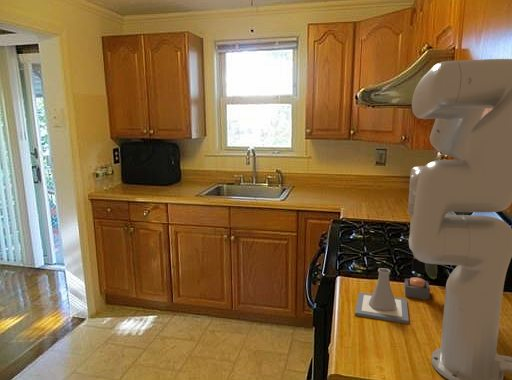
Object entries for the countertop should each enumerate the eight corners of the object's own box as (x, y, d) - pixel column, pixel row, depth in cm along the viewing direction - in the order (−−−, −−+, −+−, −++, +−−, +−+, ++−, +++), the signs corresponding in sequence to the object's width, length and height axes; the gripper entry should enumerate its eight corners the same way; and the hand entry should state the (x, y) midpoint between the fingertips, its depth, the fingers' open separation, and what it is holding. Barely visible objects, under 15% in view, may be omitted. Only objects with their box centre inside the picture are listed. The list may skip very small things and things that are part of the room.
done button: (423, 287, 111) (424, 278, 111) (424, 292, 108) (425, 283, 107) (409, 285, 113) (409, 276, 112) (409, 290, 109) (410, 281, 109)
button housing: (427, 290, 112) (427, 281, 112) (429, 299, 106) (430, 289, 106) (404, 287, 114) (405, 278, 114) (405, 296, 108) (405, 286, 108)
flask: (398, 313, 97) (401, 276, 95) (369, 310, 98) (371, 274, 97) (394, 300, 104) (396, 266, 102) (367, 298, 105) (368, 264, 104)
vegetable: (423, 279, 120) (428, 219, 117) (421, 275, 124) (426, 216, 121) (438, 281, 119) (443, 220, 116) (436, 276, 123) (441, 217, 120)
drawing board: (406, 301, 105) (406, 298, 105) (408, 323, 93) (408, 320, 93) (358, 294, 110) (358, 292, 109) (354, 315, 98) (355, 312, 97)
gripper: (406, 203, 115) (403, 261, 118) (409, 214, 101) (405, 278, 104) (433, 205, 112) (429, 263, 115) (440, 216, 98) (434, 282, 101)
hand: (417, 270), depth 109 cm, fingers closed
